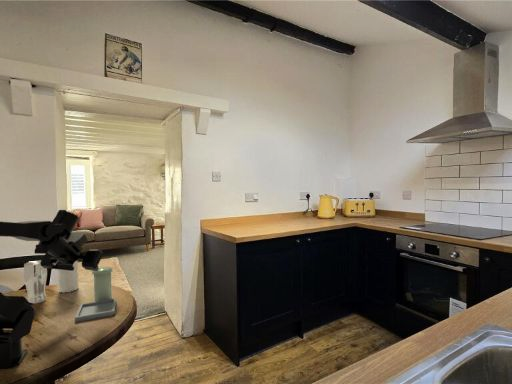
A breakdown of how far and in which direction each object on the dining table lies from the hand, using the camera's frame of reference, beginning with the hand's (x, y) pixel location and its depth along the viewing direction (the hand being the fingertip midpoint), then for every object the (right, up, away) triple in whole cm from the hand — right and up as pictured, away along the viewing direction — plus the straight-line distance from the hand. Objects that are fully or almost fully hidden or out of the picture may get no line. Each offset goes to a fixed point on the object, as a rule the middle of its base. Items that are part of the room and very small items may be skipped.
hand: (85, 269), depth 98 cm
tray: (+5, -14, -1) cm, 15 cm away
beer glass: (-24, -15, +8) cm, 29 cm away
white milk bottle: (-19, -14, +19) cm, 30 cm away
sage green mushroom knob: (+2, -14, +8) cm, 17 cm away
